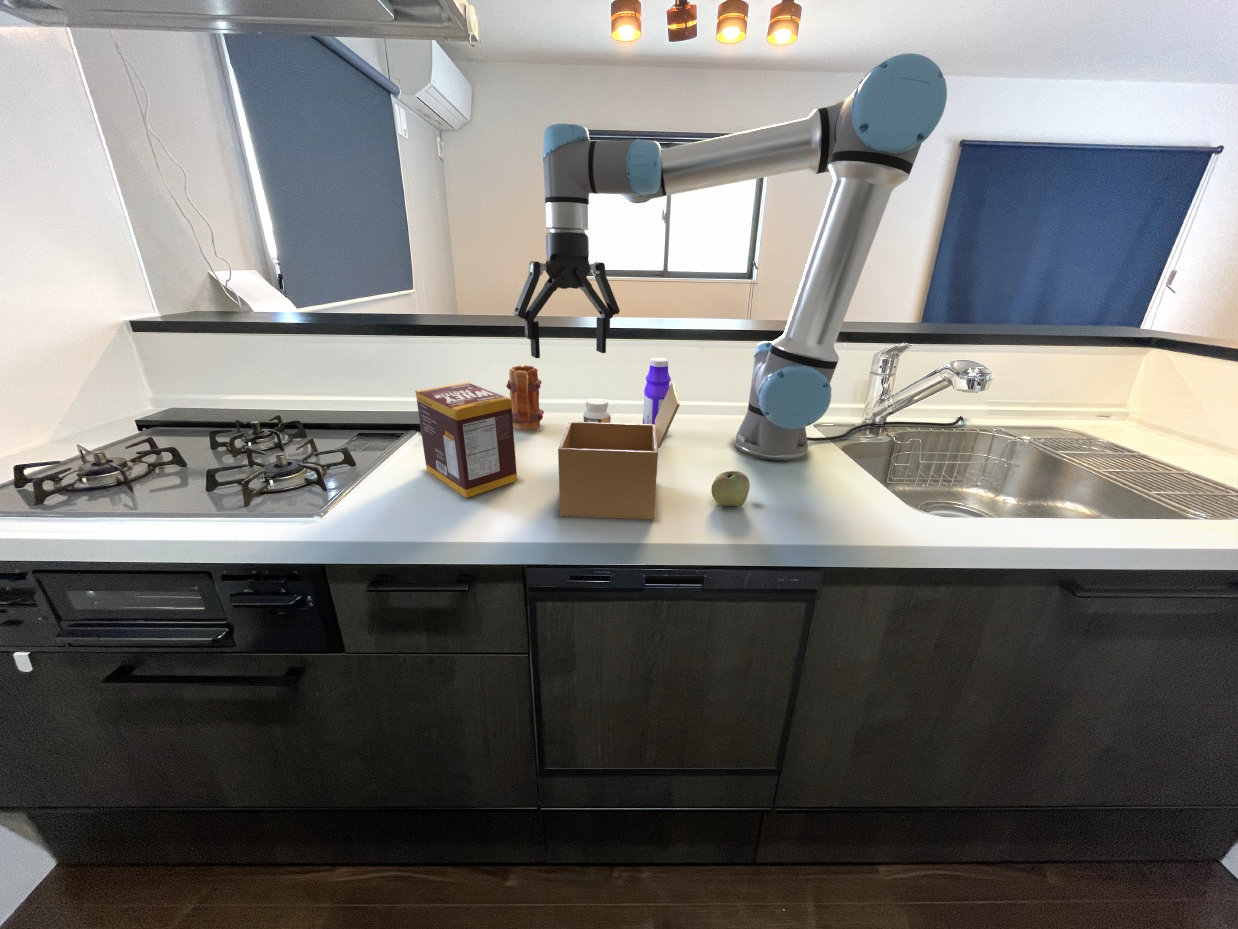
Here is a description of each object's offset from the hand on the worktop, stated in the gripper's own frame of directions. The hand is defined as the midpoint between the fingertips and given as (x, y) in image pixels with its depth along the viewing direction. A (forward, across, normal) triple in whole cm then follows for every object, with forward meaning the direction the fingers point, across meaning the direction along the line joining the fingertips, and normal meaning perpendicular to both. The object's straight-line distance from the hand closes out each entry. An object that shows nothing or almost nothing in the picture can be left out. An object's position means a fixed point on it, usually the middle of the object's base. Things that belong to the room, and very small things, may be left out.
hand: (569, 354), depth 94 cm
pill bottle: (+21, -7, -2) cm, 22 cm away
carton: (+20, +2, +22) cm, 30 cm away
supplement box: (+21, +21, +2) cm, 30 cm away
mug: (+21, +4, -17) cm, 27 cm away
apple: (+21, -16, +32) cm, 41 cm away
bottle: (+21, -23, -3) cm, 31 cm away
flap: (+5, -5, +26) cm, 27 cm away
